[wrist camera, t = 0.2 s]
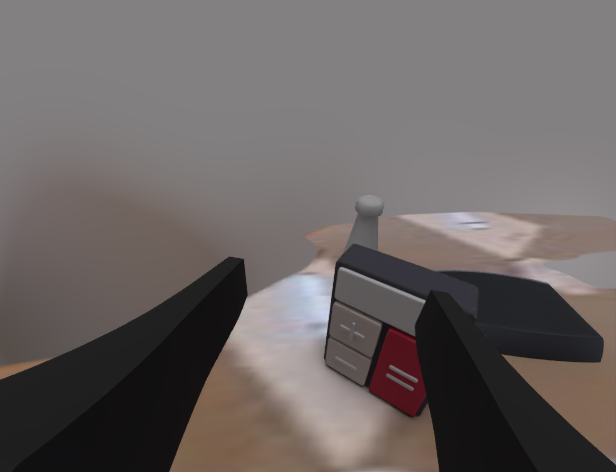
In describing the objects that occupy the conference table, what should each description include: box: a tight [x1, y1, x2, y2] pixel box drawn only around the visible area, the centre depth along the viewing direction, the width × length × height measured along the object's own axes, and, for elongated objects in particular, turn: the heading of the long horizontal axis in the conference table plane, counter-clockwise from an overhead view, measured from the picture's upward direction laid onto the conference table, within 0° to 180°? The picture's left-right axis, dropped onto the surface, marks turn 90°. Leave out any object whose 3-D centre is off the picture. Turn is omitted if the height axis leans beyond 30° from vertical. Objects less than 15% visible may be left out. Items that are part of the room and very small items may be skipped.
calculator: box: [324, 244, 479, 416], centre depth 24 cm, size 11×4×15 cm, turn 58°
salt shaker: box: [344, 195, 384, 253], centre depth 42 cm, size 6×6×13 cm
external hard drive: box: [435, 270, 604, 362], centre depth 36 cm, size 13×19×4 cm
